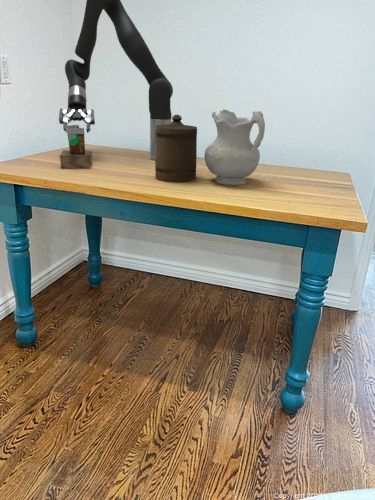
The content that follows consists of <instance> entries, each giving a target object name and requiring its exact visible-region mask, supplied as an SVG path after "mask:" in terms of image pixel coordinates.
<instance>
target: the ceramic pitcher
mask: <svg viewBox="0 0 375 500" xmlns="http://www.w3.org/2000/svg"><path fill="white" fill-rule="evenodd" d="M211 117H212V118H213V121H214V123H215V125H216V130H217V131H216V132H217V135H216V138H215V139H214V141H213V142H212V143H210V144H209V145H208V146H207V147H206V148H205V150H204V162H205V166H206V167H207V169H208V171H209V172H210V173H211V174H213V175H215V176H216V177H215V179H214V182H215V183H218V184H220V185H228V186H229V185H230V186H231V185H233V186H234V185H235V186H242V185H246V184H248V182H247V180H246V177H249V176H251V175H252V174H253V173H254V172H255V171H256V170H257V167H258V166H259V162H260V157H261V154H260V150H259V147H260V146H261V144H262V141H263V140H264V137H265V129H266V121H265V118H264V114H263V112H262V111H252V117H251V118H250V120H249V118H248V117H241V116H240V117H238V116H236V113H235V111H230V110H228V109H222V110H220V111H219V113H218V114H217V113H216V111H212V113H211ZM254 124H257V125H258V126H257V127H258V133H257V137H256V138H255V140H254V141H253V143H252V141H251V139H250V138H251V137H250V136H251V131H252V128H253V126H254Z"/></svg>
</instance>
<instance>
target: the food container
mask: <svg viewBox="0 0 375 500" xmlns="http://www.w3.org/2000/svg"><path fill="white" fill-rule="evenodd" d="M64 132H65V133H66V134H67V140H68V141H67V142H68V147H69V150H70V153H71V154H80V155H84V154H85V150H86V146H85V145H86V144H85V128H84V127H80V125H79V124H71V125H70V124H69V125H67V128H66V131H64Z"/></svg>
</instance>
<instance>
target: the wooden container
mask: <svg viewBox="0 0 375 500" xmlns="http://www.w3.org/2000/svg"><path fill="white" fill-rule="evenodd" d="M182 120H183V117H182V116H181V115H180V114H174V115H171V123H170V124H167V125H157V126H156V149H155V160H154V161H155V162H154V165H155V167H154V168H155V169H154V170H155V172H154V173H155V176H154V177H155V178H156V180H159V181H163V182H168V183H169V182H170V183H185V182H191V181H195V179H197V153H198V152H197V150H198V149H197V144H198V143H197V142H198V140H197V139H198V138H197V137H198V127H197V126H194V125H189V124H187V125H186V124H184V123H182Z"/></svg>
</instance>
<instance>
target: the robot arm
mask: <svg viewBox="0 0 375 500" xmlns="http://www.w3.org/2000/svg"><path fill="white" fill-rule="evenodd" d="M103 10H104V12H105V13H106V15H107V17H109V20H110V21H111V22H112V24H113V26H114V30H115V33H116V36H117V40H118V43H119V45H120V47H121V48H122V49H123V52H124V53H125V55H126V56H127V58H128V59H129V60H130V61H131V63H132V64H133V65H134V66H135V67H136V68H137V70H138V71H139V72H140V73H141V74H142V75H143V77H144V79H145V80H146V82H147V84H148V85H149V87H148V111H149V130H150V131H149V132H150V133H149V142H150V143H149V145H150V146H149V148H150V149H149V151H150V152H149V158H150V160H154V161H155V149H156V126H157V125H167V124H170V123H171V122H172V109H171V99H172V96H173V94H174V88H173V85H172V83H171V82H170V80H169V79H168V78H167V77H166V75H165V74H164V72H162V71H163V70H161V68H160V67H159V65H158V64H157V62H156V59H155V58H154V56H153V54H152V52H151V50H150V48H149V46H148V45H147V43H146V41H145V39H144V38H143V36H142V34H141V33H140V31H139V30H138V29H137V26H136V25H135V23H134V22H133V20H132V19H131V17H130V16H129V14H128V13H127V11H126V9H125V7H124V5H123V3H122V1H121V0H86V3H85V9H84V14H83V19H82V21H83V22H82V25H81V30H80V32H79V36H78V38H77V39H78V40H77V42H76V46H75V49H74V53H75V55H76V56H77V57H78V58H80V59H81V60H82V61H83V62H81V61H77V60H75V59H68V60H67V61H66V63H65V65H64V70H65V71H64V73H65V76H66V79H67V82H68V94H67V109H63V108H60V109H59V114H58V122H59V124H60V125H62V126H63V127H62V129H63V131H64V132H65V131H66V128H67V126H68V124H69V123H71V122H72V121H73V122H74V121H75V122H76V121H79V122H83V123H85V124H86V133H87V134H88V133H89V132H91V125H95V124H96V122H95V111H94V109H92V108H91V109H90V110H87V93H86V92H87V90H86V89H87V84H86V83H87V82H86V81H87V80H88V79H89V78H90V74H91V62H92V55H93V52H94V50H95V46H96V43H97V38H98V37H97V36H98V23H99V19H100V16H101V15H102V12H103ZM65 116H66V117H65ZM88 116H89V117H90V118H91V119H89V118H88Z"/></svg>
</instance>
